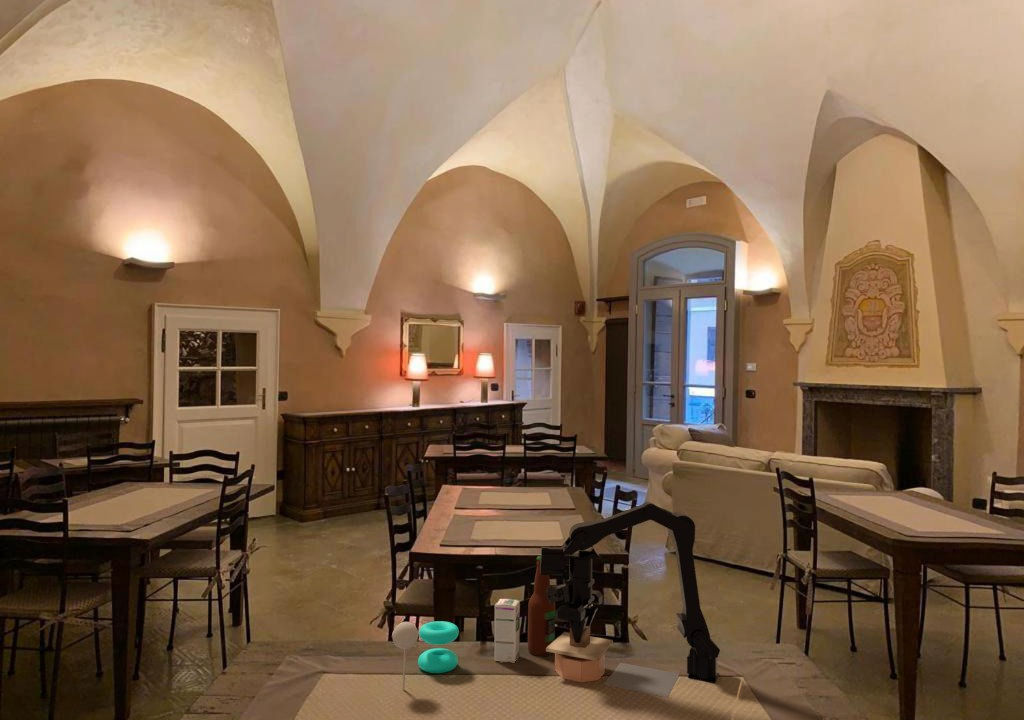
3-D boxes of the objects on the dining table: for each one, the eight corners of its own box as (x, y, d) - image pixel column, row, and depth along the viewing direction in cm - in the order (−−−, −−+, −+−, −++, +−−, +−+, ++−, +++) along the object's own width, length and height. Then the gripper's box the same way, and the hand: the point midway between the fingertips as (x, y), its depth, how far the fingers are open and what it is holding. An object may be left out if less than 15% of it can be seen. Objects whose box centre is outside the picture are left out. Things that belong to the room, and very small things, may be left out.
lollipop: (421, 686, 147) (423, 620, 148) (409, 697, 141) (411, 628, 143) (397, 682, 149) (400, 616, 150) (385, 692, 143) (387, 624, 145)
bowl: (608, 669, 159) (608, 648, 160) (594, 686, 149) (594, 664, 149) (565, 661, 164) (566, 641, 164) (549, 677, 154) (550, 655, 154)
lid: (612, 643, 160) (612, 623, 160) (597, 661, 148) (597, 639, 149) (564, 635, 166) (564, 616, 166) (545, 651, 154) (546, 631, 154)
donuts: (466, 624, 161) (441, 635, 152) (465, 665, 160) (439, 678, 152) (437, 617, 166) (410, 627, 158) (436, 656, 165) (409, 668, 157)
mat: (679, 675, 156) (679, 673, 156) (667, 699, 143) (667, 697, 143) (620, 664, 163) (620, 662, 163) (603, 686, 149) (603, 684, 149)
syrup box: (515, 664, 161) (516, 605, 163) (493, 661, 163) (494, 603, 164) (519, 655, 167) (520, 599, 168) (498, 653, 168) (499, 597, 169)
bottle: (555, 657, 167) (556, 560, 169) (527, 656, 167) (529, 559, 169) (553, 646, 174) (555, 554, 176) (527, 646, 174) (529, 553, 176)
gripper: (563, 564, 170) (562, 624, 169) (536, 580, 153) (535, 646, 152) (603, 569, 166) (603, 630, 164) (580, 586, 149) (579, 654, 147)
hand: (580, 639), depth 157 cm, fingers closed on lid, 4 cm apart
